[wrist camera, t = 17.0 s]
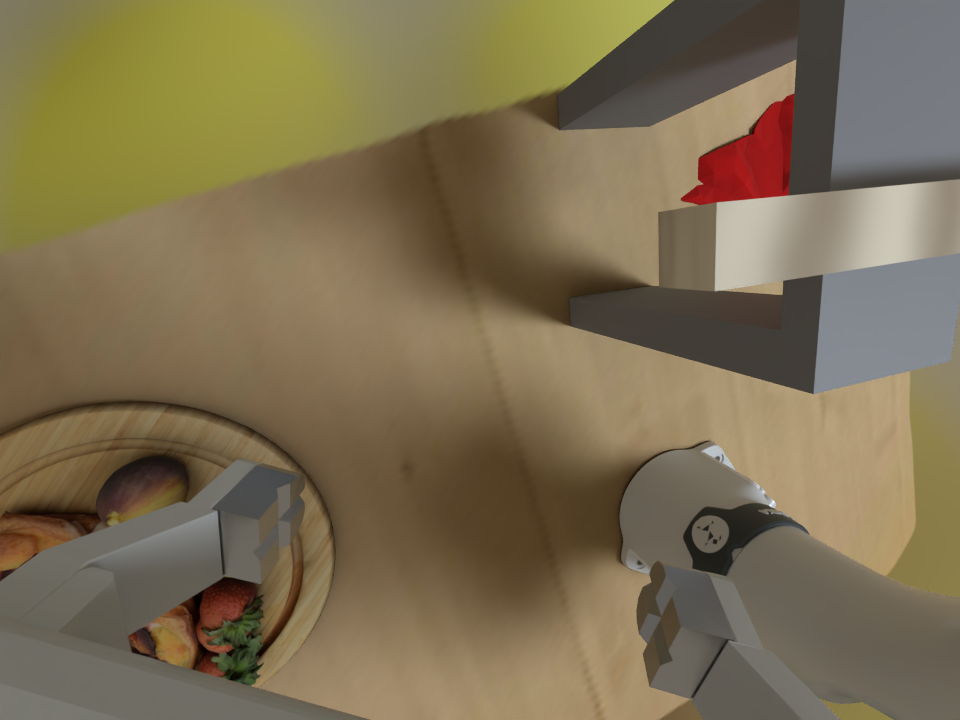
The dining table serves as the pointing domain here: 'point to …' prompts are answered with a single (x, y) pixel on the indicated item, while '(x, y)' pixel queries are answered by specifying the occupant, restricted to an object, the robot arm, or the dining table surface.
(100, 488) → the wooden plate with food
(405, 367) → the dining table surface
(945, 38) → the grey arch
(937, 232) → the maple bar
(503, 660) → the dining table surface
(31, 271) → the dining table surface
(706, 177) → the cloth
